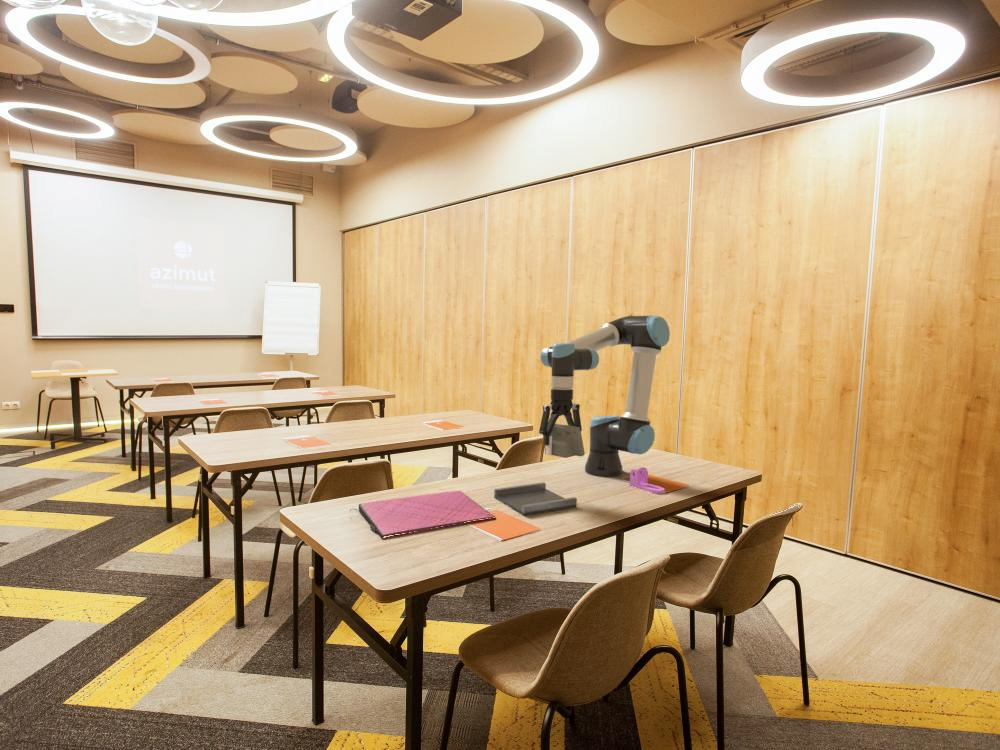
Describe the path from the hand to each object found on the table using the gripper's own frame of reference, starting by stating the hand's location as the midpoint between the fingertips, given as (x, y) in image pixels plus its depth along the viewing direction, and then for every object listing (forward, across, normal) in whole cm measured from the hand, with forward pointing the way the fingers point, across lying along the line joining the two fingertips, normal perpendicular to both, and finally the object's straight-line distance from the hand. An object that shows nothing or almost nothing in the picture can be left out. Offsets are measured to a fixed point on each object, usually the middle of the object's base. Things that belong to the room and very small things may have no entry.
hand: (560, 453), depth 195 cm
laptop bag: (+17, +49, -5) cm, 52 cm away
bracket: (+16, -36, +5) cm, 40 cm away
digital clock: (0, -1, 0) cm, 1 cm away
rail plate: (+16, +10, 0) cm, 19 cm away
